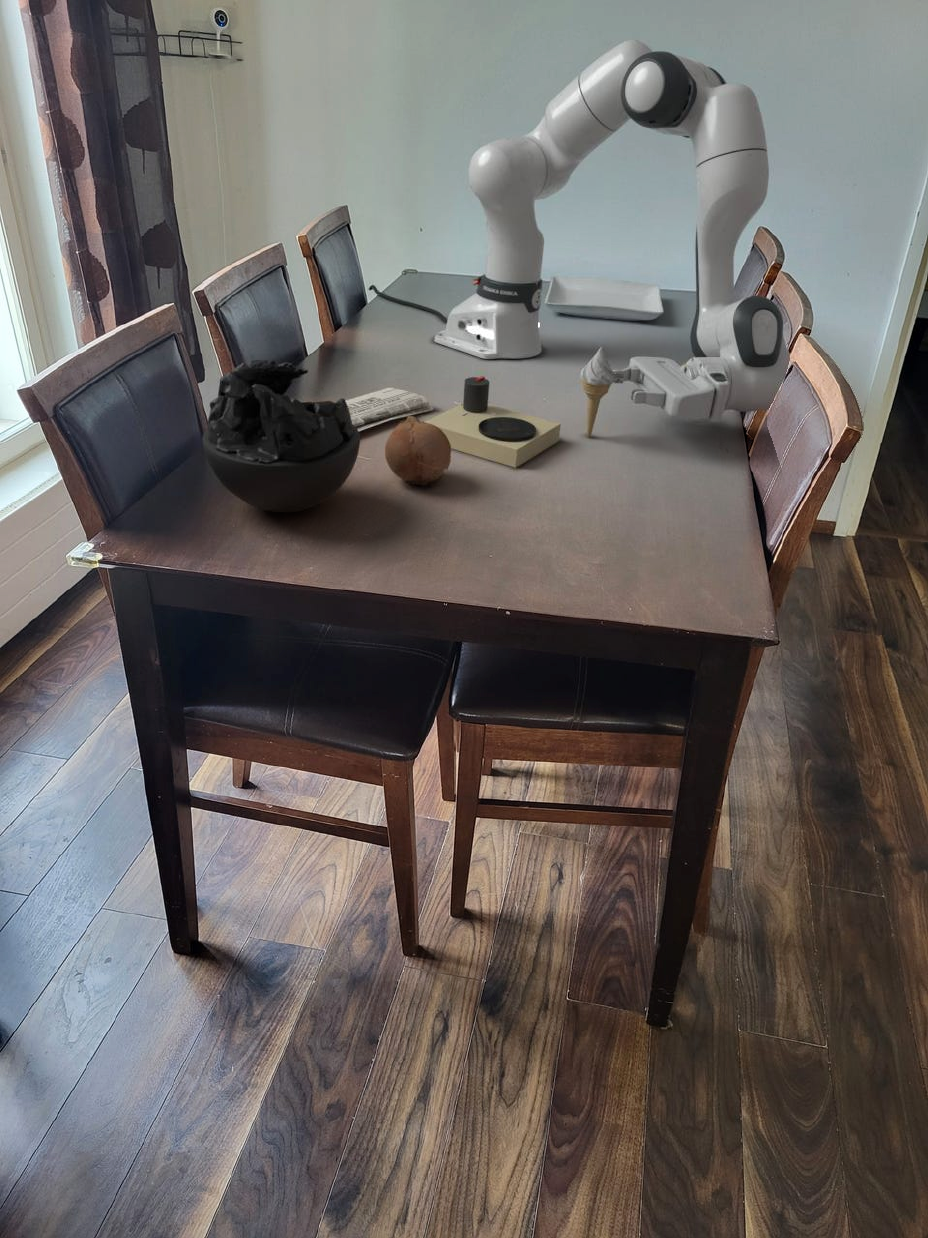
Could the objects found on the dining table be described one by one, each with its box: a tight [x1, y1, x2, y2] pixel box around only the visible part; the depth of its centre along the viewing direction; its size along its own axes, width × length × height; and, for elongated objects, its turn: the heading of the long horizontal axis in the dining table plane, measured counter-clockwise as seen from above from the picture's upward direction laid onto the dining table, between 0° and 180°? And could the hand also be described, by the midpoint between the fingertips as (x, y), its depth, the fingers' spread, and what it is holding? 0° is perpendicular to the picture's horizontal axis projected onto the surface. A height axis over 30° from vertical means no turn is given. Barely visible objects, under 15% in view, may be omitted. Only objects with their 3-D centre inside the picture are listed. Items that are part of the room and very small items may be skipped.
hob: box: [424, 401, 561, 469], centre depth 148 cm, size 18×15×3 cm
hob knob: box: [462, 375, 490, 413], centre depth 150 cm, size 4×4×5 cm
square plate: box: [544, 275, 665, 322], centre depth 223 cm, size 27×27×4 cm
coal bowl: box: [201, 358, 361, 513], centre depth 120 cm, size 20×20×19 cm
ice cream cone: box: [579, 345, 615, 438], centre depth 148 cm, size 6×6×15 cm
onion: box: [384, 415, 452, 486], centre depth 132 cm, size 10×9×10 cm
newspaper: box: [345, 387, 435, 432], centre depth 154 cm, size 23×12×2 cm, turn 138°
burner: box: [478, 417, 536, 442], centre depth 144 cm, size 9×9×1 cm
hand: (622, 386), depth 149 cm, fingers open, 8 cm apart
